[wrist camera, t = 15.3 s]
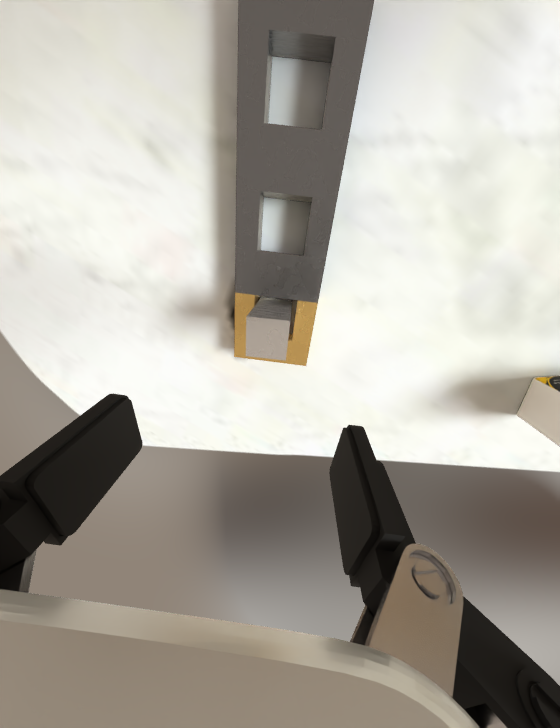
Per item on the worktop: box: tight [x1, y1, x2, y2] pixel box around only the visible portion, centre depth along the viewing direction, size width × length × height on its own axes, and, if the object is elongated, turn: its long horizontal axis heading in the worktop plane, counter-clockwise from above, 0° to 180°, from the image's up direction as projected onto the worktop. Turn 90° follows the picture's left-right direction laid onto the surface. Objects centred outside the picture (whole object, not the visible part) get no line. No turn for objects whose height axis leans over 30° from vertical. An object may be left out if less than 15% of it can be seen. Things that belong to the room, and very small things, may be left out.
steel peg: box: [246, 297, 292, 361], centre depth 25 cm, size 4×4×10 cm
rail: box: [234, 0, 374, 366], centre depth 23 cm, size 32×10×2 cm, turn 174°
